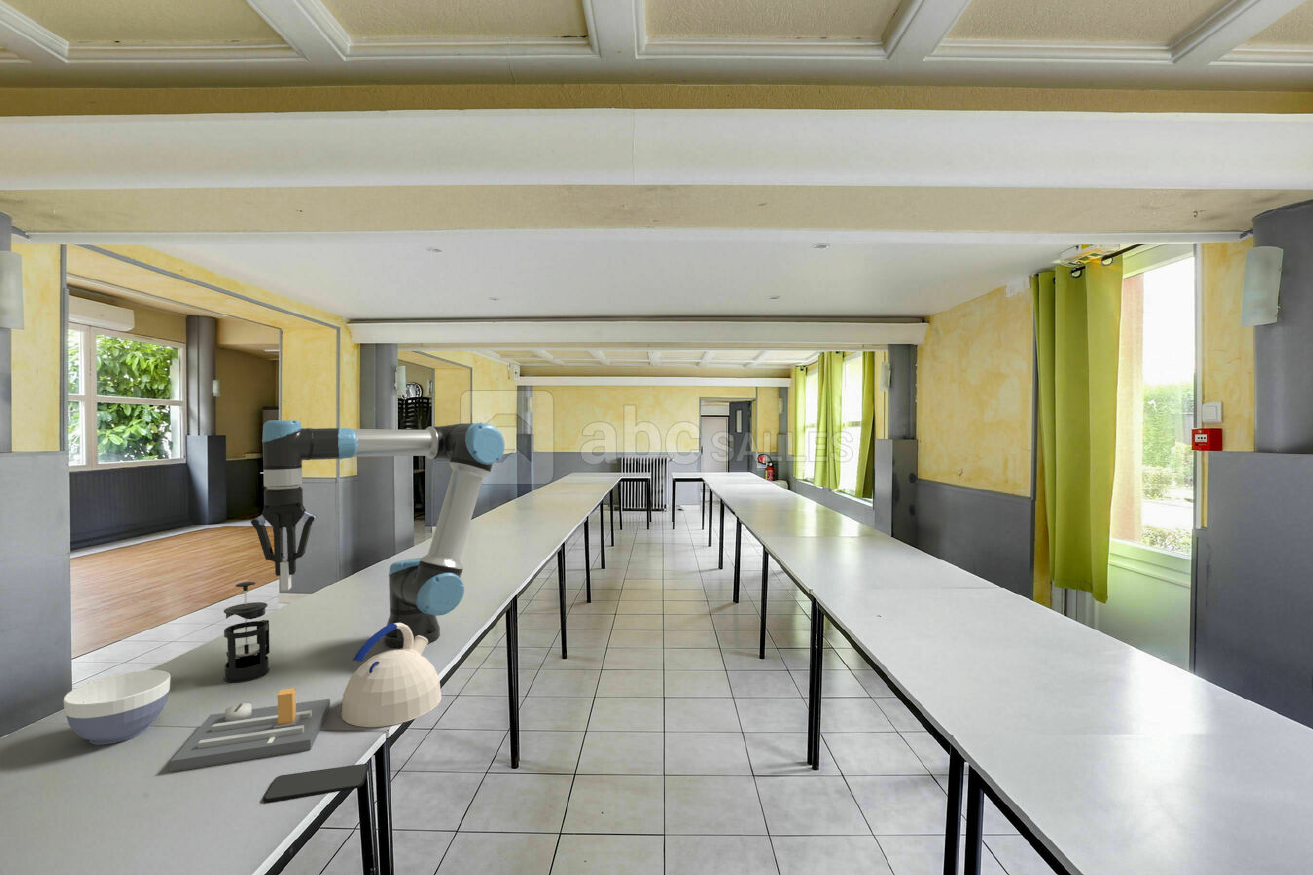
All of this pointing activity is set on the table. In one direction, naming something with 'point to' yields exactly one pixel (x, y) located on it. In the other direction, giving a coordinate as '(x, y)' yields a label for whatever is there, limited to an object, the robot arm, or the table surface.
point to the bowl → (117, 705)
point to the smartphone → (316, 782)
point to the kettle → (391, 683)
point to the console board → (250, 735)
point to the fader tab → (287, 709)
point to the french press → (246, 661)
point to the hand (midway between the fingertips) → (286, 588)
